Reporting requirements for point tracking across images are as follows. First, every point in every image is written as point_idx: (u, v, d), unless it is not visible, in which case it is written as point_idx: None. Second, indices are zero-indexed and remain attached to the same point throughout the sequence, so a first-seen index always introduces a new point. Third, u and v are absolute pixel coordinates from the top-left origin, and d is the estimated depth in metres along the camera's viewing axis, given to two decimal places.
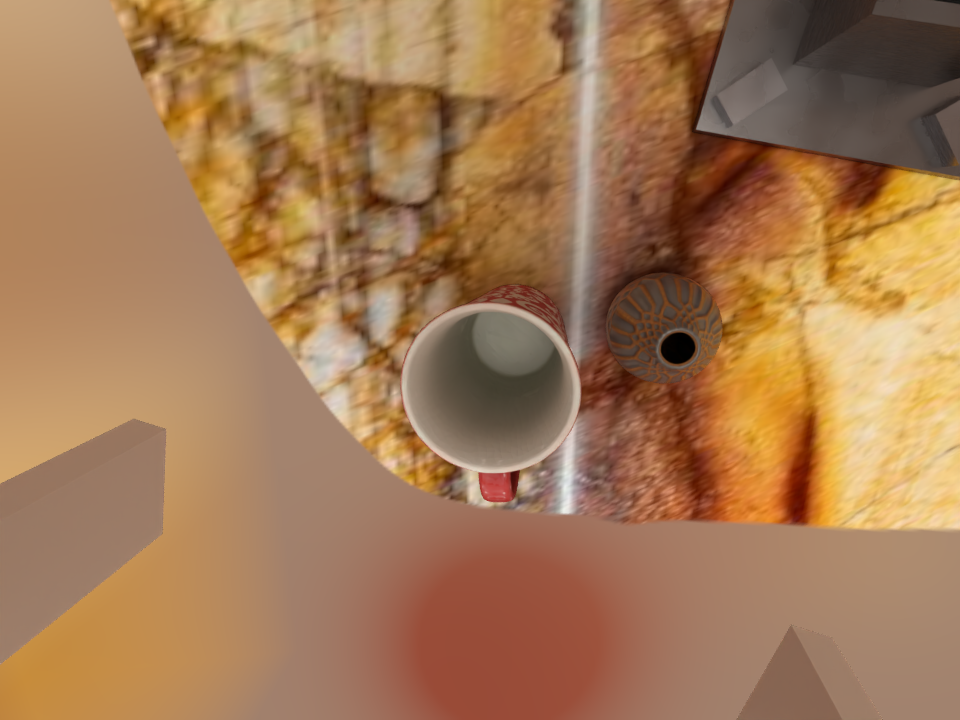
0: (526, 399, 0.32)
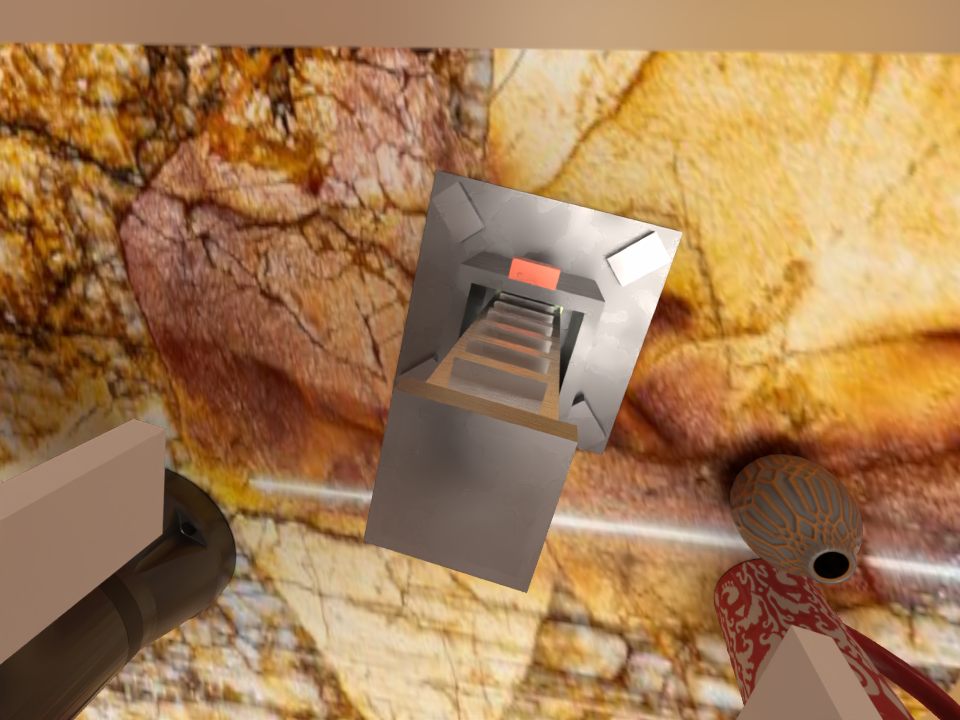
0: None
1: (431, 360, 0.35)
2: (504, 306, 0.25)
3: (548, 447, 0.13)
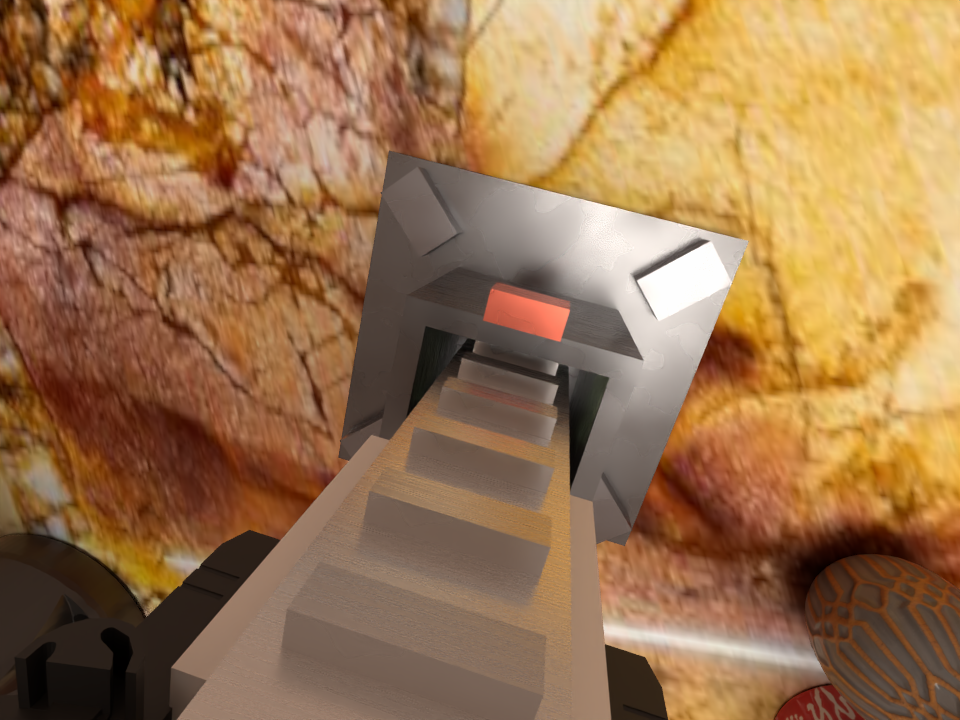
0: None
1: None
2: (476, 367, 0.15)
3: None
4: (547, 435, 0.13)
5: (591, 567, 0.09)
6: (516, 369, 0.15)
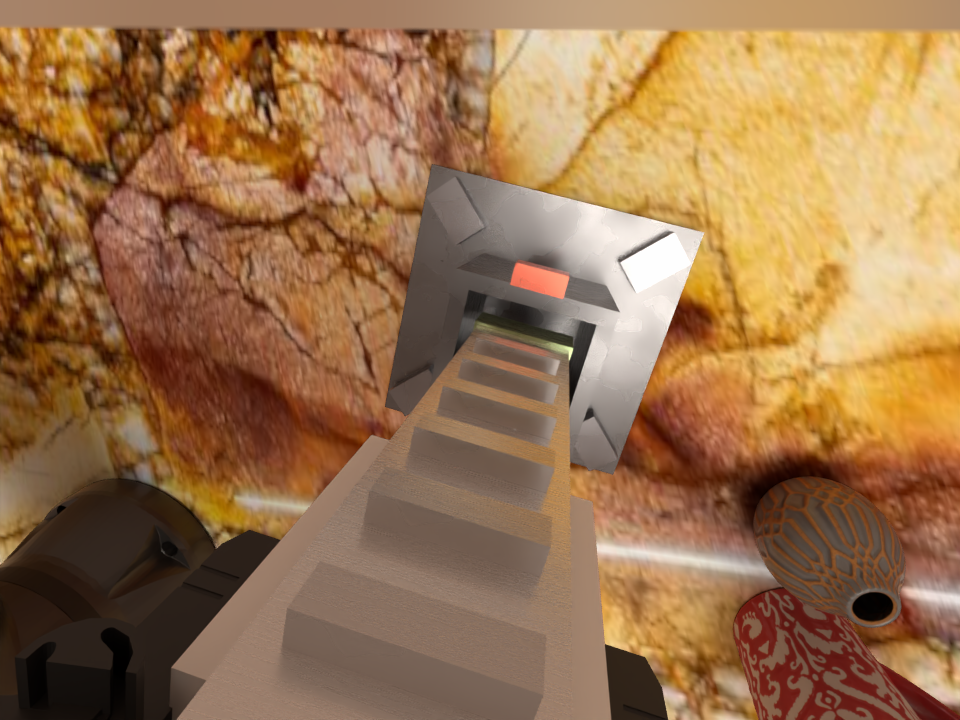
0: None
1: (427, 372, 0.32)
2: (477, 367, 0.15)
3: None
4: (547, 435, 0.13)
5: (591, 567, 0.09)
6: (516, 369, 0.15)
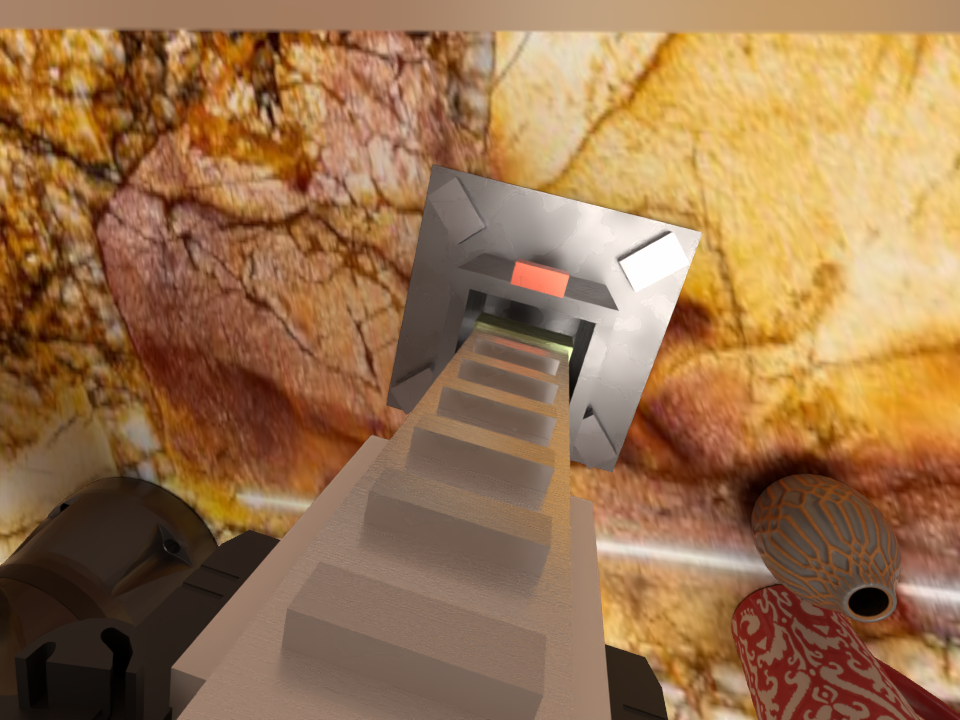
0: None
1: (428, 370, 0.32)
2: (477, 367, 0.15)
3: None
4: (547, 435, 0.13)
5: (591, 567, 0.09)
6: (516, 369, 0.15)
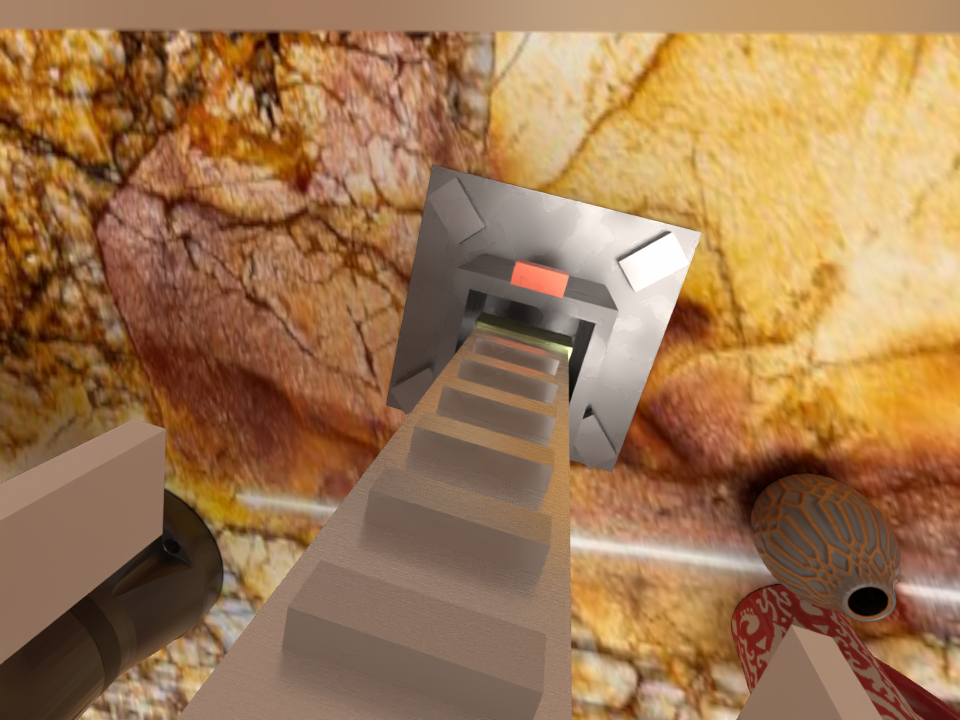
0: None
1: (427, 370, 0.32)
2: (476, 367, 0.15)
3: None
4: (547, 434, 0.13)
5: None
6: (516, 369, 0.15)
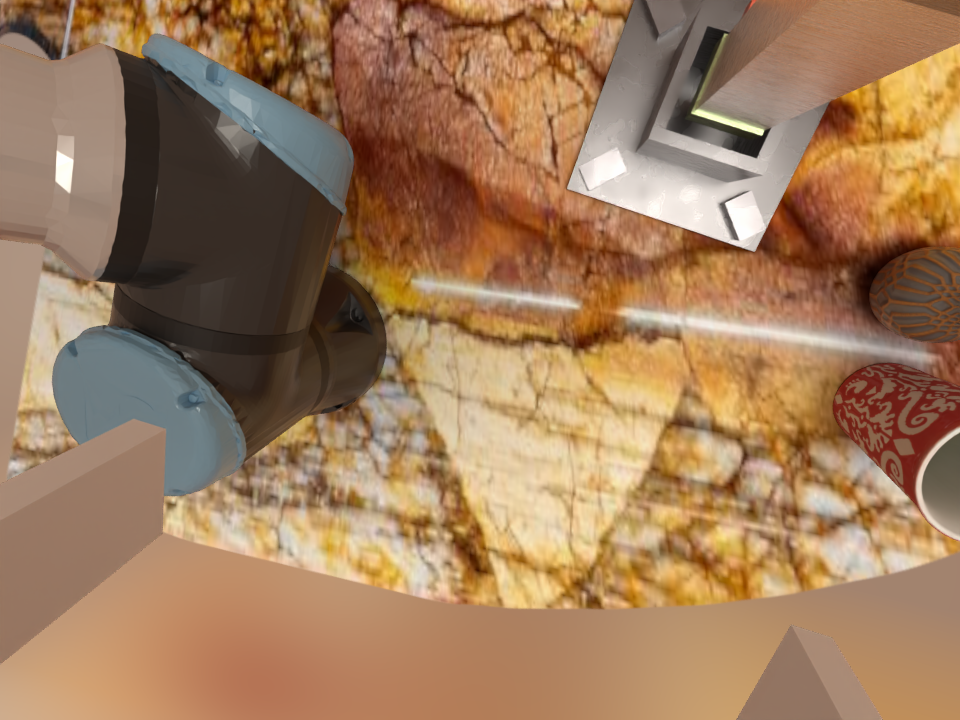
0: None
1: (615, 149, 0.39)
2: None
3: None
4: None
5: None
6: None
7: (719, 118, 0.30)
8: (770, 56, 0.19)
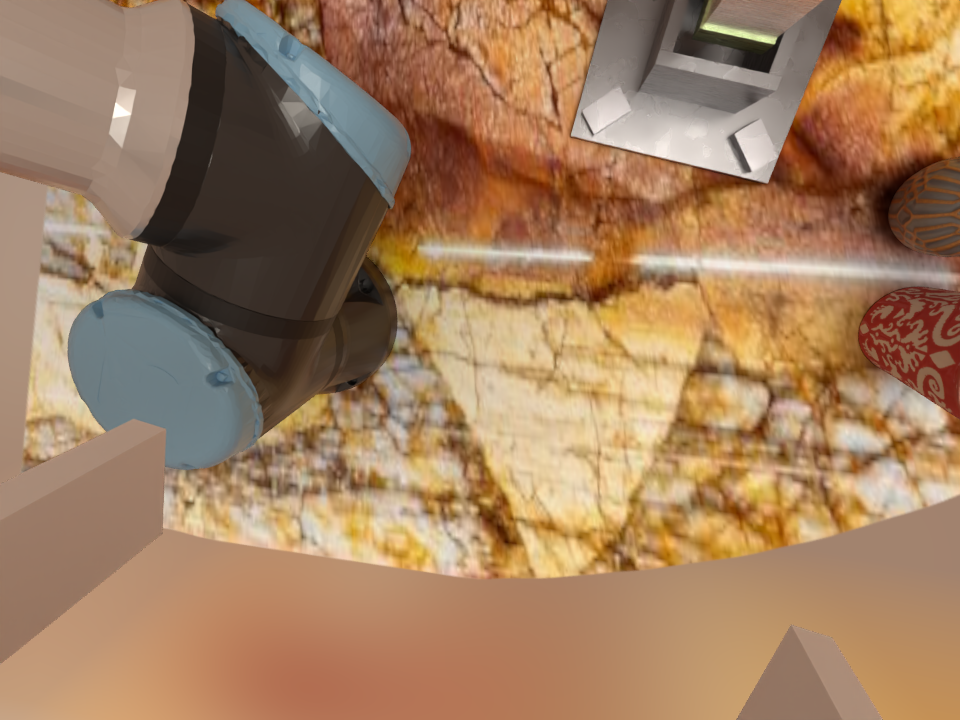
0: None
1: (618, 88, 0.38)
2: None
3: None
4: None
5: None
6: None
7: (729, 30, 0.29)
8: None
